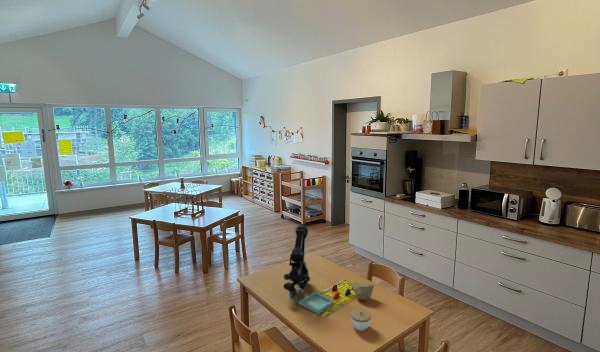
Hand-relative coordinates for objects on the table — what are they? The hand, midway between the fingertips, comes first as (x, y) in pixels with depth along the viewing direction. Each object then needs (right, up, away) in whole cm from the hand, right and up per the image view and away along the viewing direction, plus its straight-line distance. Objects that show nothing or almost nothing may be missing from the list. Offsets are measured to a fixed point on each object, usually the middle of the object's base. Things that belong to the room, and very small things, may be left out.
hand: (297, 294), depth 210 cm
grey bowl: (+40, -2, 0) cm, 40 cm away
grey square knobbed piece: (0, -2, 0) cm, 2 cm away
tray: (+12, -3, -8) cm, 14 cm away
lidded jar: (+35, -7, -30) cm, 46 cm away
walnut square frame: (0, -1, 0) cm, 1 cm away
